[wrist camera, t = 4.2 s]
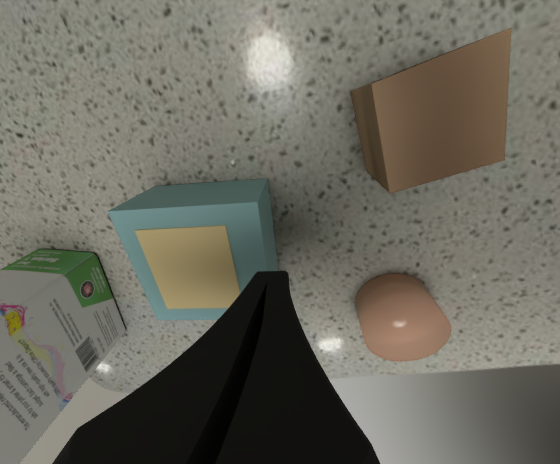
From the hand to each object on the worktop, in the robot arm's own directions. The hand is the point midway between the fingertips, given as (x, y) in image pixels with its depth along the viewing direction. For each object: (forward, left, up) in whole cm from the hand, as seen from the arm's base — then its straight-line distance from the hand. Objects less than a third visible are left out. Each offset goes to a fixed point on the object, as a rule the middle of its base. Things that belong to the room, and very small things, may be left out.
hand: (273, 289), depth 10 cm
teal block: (+1, 0, -3) cm, 4 cm away
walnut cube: (-6, -6, -6) cm, 10 cm away
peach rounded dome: (-7, +6, -6) cm, 11 cm away
